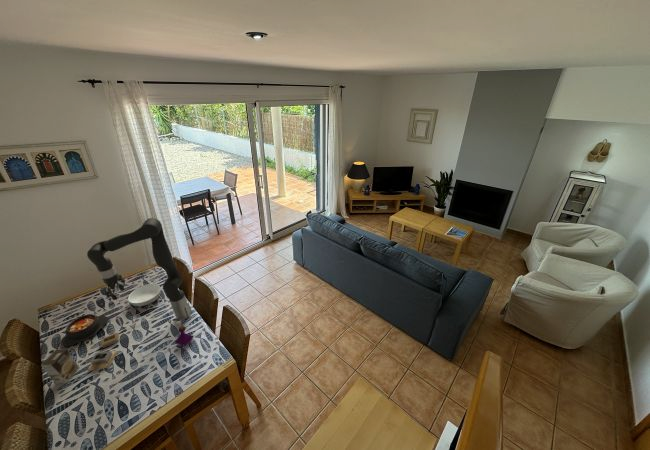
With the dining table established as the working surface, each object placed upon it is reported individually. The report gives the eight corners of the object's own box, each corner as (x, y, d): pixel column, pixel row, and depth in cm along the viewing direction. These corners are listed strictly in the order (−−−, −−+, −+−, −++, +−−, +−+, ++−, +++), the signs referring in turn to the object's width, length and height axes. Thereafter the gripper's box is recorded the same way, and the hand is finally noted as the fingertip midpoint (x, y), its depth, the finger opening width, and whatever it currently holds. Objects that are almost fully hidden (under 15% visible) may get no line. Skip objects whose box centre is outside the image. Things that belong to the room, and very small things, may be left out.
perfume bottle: (194, 339, 165) (187, 319, 157) (185, 349, 159) (177, 329, 150) (185, 336, 167) (178, 316, 159) (176, 345, 161) (167, 325, 153)
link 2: (112, 354, 154) (110, 351, 153) (107, 362, 150) (105, 359, 148) (97, 356, 153) (95, 353, 152) (92, 364, 148) (89, 361, 147)
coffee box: (67, 383, 141) (52, 364, 133) (55, 383, 140) (39, 365, 133) (80, 367, 149) (67, 348, 141) (68, 367, 148) (54, 349, 141)
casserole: (101, 313, 184) (96, 305, 180) (115, 323, 176) (110, 315, 172) (56, 340, 165) (49, 331, 161) (70, 353, 157) (63, 343, 153)
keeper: (117, 352, 157) (113, 345, 154) (108, 367, 148) (103, 360, 145) (99, 354, 156) (94, 347, 153) (89, 370, 147) (84, 363, 144)
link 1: (118, 335, 168) (117, 332, 166) (118, 341, 164) (117, 338, 162) (103, 341, 164) (101, 338, 162) (103, 347, 160) (101, 344, 158)
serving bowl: (155, 286, 209) (152, 280, 206) (168, 297, 198) (165, 290, 195) (126, 302, 194) (123, 295, 191) (138, 314, 183) (135, 307, 180)
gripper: (109, 281, 148) (119, 302, 156) (122, 266, 161) (131, 286, 168) (94, 282, 147) (106, 303, 155) (108, 267, 159) (118, 287, 167)
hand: (119, 294), depth 161 cm, fingers open, 8 cm apart
